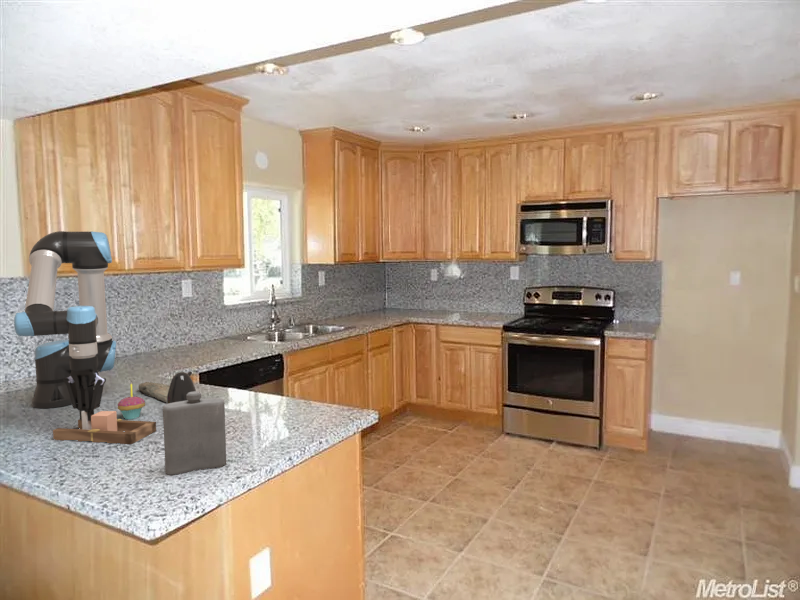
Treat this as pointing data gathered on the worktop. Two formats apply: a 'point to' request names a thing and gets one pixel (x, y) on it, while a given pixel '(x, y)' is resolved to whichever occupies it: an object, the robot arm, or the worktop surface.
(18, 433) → the worktop surface
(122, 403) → the cupcake
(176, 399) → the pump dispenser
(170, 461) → the flask
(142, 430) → the slotted beam
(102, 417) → the block
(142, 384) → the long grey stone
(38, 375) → the robot arm
